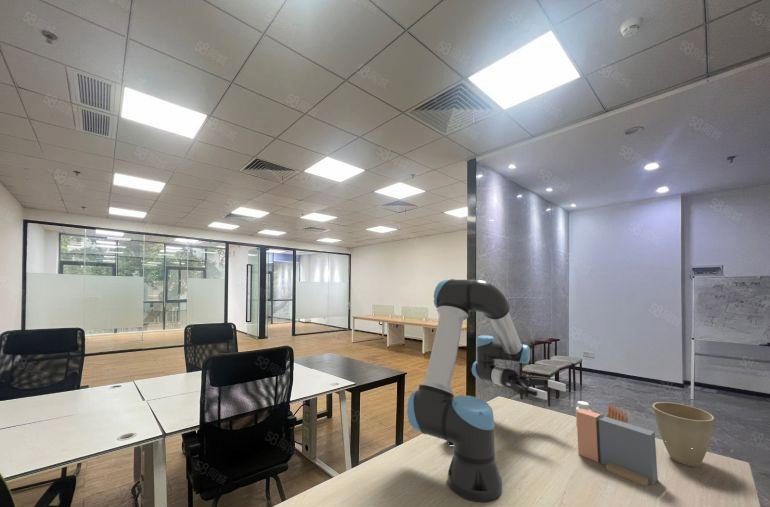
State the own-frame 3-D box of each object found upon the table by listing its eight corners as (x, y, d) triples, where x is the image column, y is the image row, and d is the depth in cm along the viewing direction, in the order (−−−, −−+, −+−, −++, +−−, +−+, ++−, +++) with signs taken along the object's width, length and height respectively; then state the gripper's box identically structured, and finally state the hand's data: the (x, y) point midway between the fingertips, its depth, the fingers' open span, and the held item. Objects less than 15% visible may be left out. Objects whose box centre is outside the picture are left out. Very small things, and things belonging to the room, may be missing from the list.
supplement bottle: (594, 431, 126) (593, 405, 127) (579, 430, 127) (578, 404, 128) (588, 425, 132) (587, 400, 132) (574, 424, 133) (573, 399, 133)
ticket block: (595, 466, 103) (593, 420, 104) (607, 457, 108) (605, 413, 109) (650, 489, 92) (647, 437, 93) (660, 477, 97) (657, 428, 98)
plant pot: (646, 455, 109) (643, 406, 111) (668, 445, 116) (665, 399, 117) (705, 479, 96) (701, 424, 97) (726, 466, 103) (722, 414, 104)
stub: (578, 454, 110) (576, 411, 111) (583, 450, 112) (581, 408, 113) (598, 462, 105) (595, 417, 106) (603, 458, 107) (601, 414, 108)
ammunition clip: (631, 448, 114) (629, 413, 115) (626, 448, 114) (624, 413, 115) (611, 434, 124) (610, 402, 125) (606, 434, 124) (605, 401, 125)
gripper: (522, 380, 143) (572, 394, 126) (487, 392, 129) (538, 410, 112) (521, 363, 144) (572, 374, 127) (486, 373, 129) (537, 388, 112)
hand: (556, 391), depth 119 cm, fingers open, 13 cm apart
